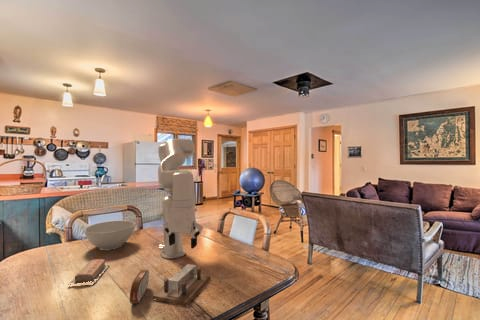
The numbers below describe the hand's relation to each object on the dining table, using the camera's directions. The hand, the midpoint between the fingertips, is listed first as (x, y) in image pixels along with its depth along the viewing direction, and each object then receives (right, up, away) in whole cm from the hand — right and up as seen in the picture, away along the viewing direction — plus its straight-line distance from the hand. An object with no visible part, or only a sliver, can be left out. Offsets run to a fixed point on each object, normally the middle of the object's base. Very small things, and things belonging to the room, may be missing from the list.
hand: (182, 245), depth 98 cm
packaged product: (-43, -18, +11) cm, 48 cm away
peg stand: (0, -17, 0) cm, 17 cm away
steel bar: (0, -15, 0) cm, 15 cm away
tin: (-15, -17, -5) cm, 23 cm away
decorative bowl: (-53, -17, +47) cm, 73 cm away
